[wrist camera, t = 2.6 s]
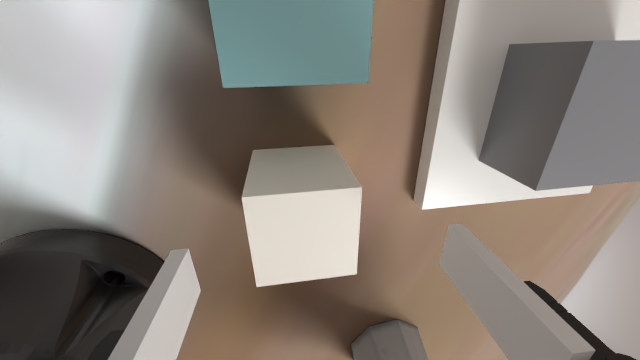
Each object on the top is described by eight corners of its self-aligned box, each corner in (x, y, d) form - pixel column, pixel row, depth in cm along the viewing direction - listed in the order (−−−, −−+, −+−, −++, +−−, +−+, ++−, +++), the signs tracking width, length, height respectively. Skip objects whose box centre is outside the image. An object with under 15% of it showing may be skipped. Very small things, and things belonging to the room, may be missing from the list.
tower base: (413, 200, 23) (459, 250, 17) (450, -29, 16) (550, -76, 10) (572, 185, 25) (662, 225, 19) (667, -24, 18) (854, -61, 12)
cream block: (262, 219, 22) (256, 286, 15) (253, 149, 19) (241, 197, 13) (334, 212, 22) (356, 274, 16) (334, 144, 20) (362, 187, 13)
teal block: (243, 75, 17) (223, 88, 10) (226, -45, 14) (187, -124, 8) (335, 72, 17) (368, 82, 11) (336, -42, 15) (379, -112, 9)
